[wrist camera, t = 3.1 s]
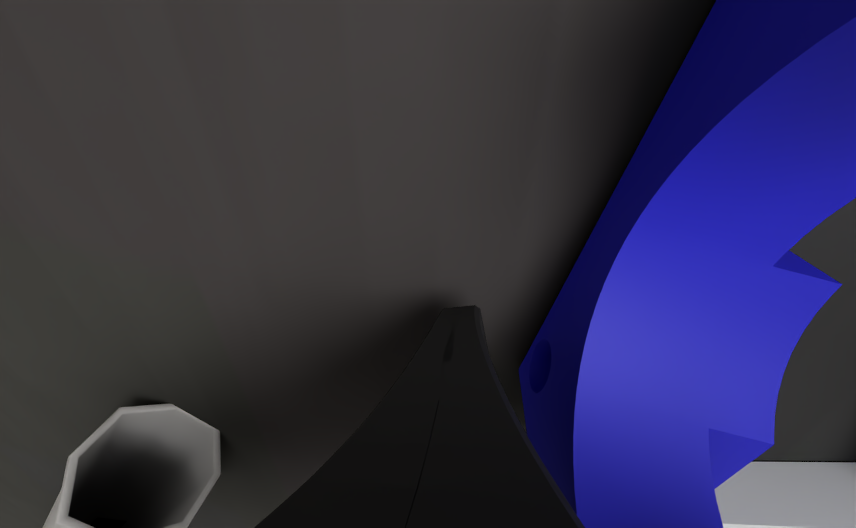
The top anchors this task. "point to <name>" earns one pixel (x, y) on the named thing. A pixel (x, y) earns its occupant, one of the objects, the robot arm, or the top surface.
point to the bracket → (789, 495)
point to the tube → (140, 470)
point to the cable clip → (699, 272)
